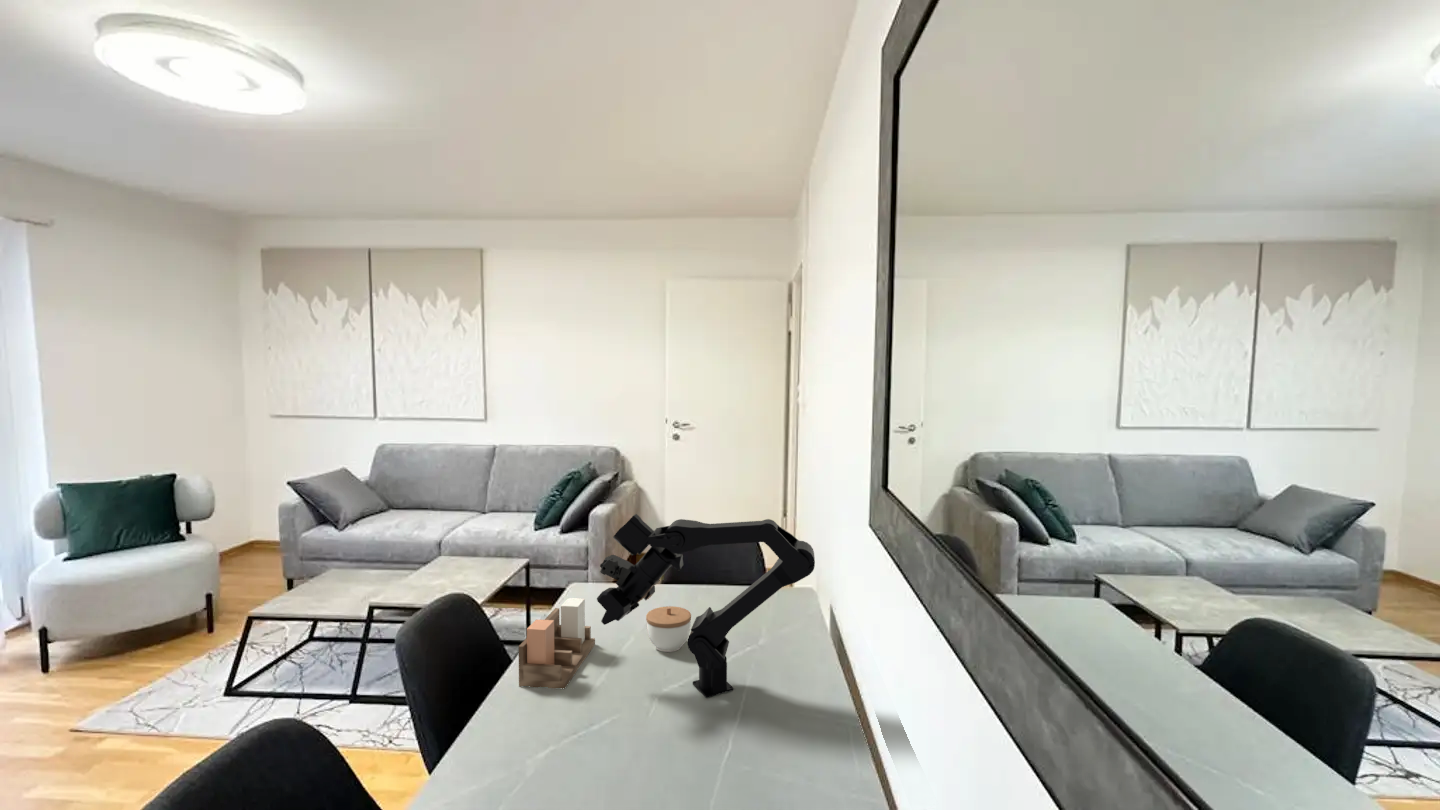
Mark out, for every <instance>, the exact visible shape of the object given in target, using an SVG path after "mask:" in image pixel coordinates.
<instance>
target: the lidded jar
mask: <svg viewBox="0 0 1440 810" xmlns="http://www.w3.org/2000/svg"><path fill="white" fill-rule="evenodd" d="M691 620H692V614H691V611H689V610H688V609H686V608H684V607H681V606H680V607H679V606H671V605H669V606H660V607H656V608H653V609H651V610H649V611H648V612H647V613H646V615H645V621H646V631H647V636H648V639H649V641H650V643H652V645H653V646H654V647H655V648H656V649H657V651H660V652H663V653H672V652H677V651H678V650H680V649H681V648H682V646H683V645H684V644H685V643H686V642H687V641H688V637H689V635H690V633H691V623H692V621H691Z"/></svg>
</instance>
